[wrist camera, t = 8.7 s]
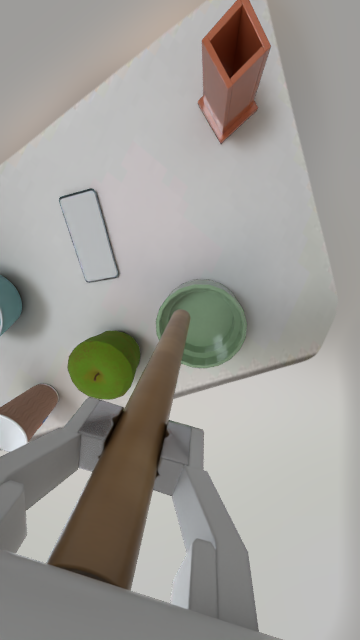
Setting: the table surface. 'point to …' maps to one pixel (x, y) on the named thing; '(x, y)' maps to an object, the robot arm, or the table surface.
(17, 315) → the bowl
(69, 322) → the table surface
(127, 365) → the apple
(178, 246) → the table surface
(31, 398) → the coffee cup
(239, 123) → the utensil holder
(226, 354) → the green round dish
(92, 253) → the smartphone
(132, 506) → the stirring stick
